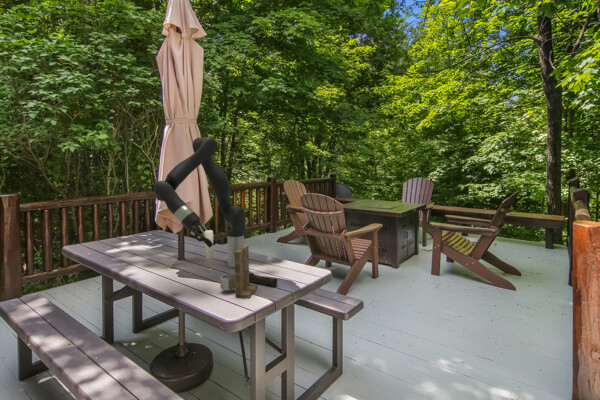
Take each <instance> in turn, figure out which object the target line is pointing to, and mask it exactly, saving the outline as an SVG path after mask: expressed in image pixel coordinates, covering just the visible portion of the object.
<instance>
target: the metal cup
mask: <svg viewBox="0 0 600 400" xmlns="http://www.w3.org/2000/svg"><path fill="white" fill-rule="evenodd" d="M219 285H220V287H219V288H220V289H221V290H222V291H232V290H234V289H235V273H226V274H222V275H221V276H220V277H219Z"/></svg>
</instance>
